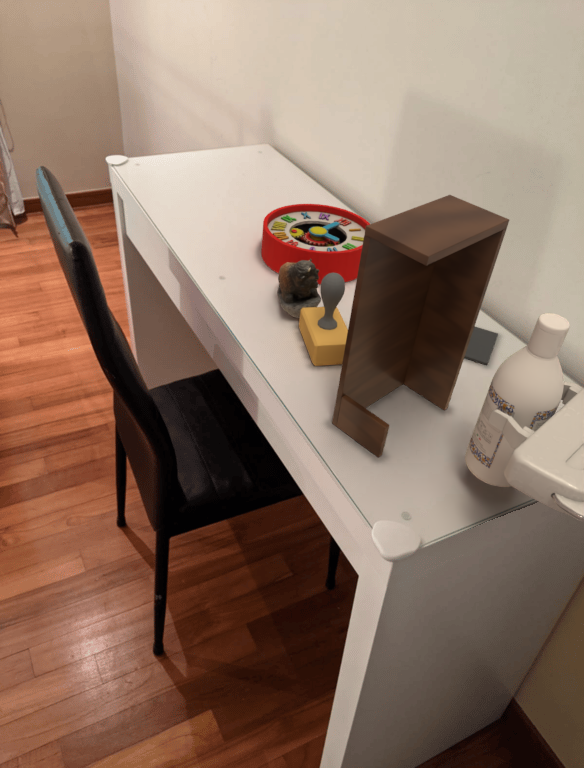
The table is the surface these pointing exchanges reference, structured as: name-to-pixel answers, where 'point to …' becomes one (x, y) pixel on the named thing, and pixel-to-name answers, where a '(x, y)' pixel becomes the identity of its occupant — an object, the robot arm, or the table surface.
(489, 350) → the pad
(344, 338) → the rubber stamp
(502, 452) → the bath foam
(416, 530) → the table surface
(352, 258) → the toy clock
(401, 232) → the cabinet
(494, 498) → the table surface
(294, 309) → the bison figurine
